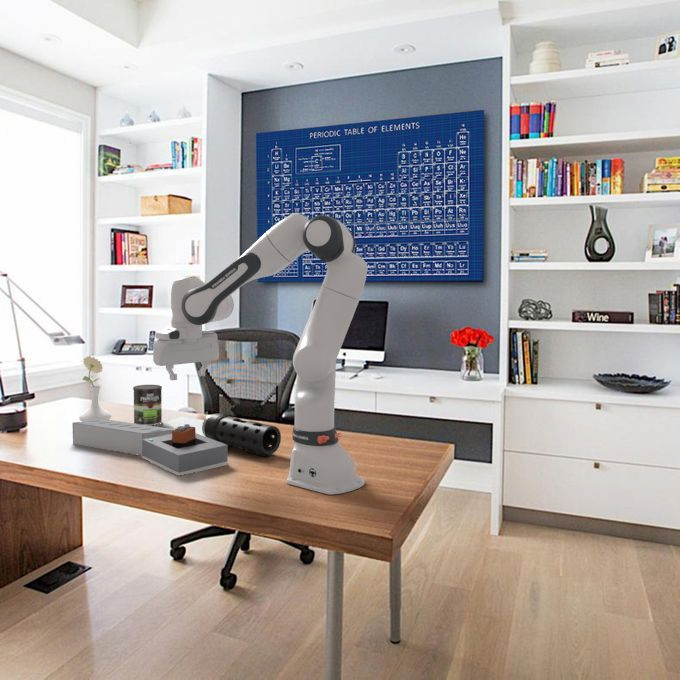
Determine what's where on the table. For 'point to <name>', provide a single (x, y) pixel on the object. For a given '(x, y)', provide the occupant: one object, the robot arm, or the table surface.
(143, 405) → the coffee can
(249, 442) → the muzzle brake
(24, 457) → the table surface
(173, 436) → the battery
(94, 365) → the flower in vase
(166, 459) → the dock
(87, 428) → the white slatted block
